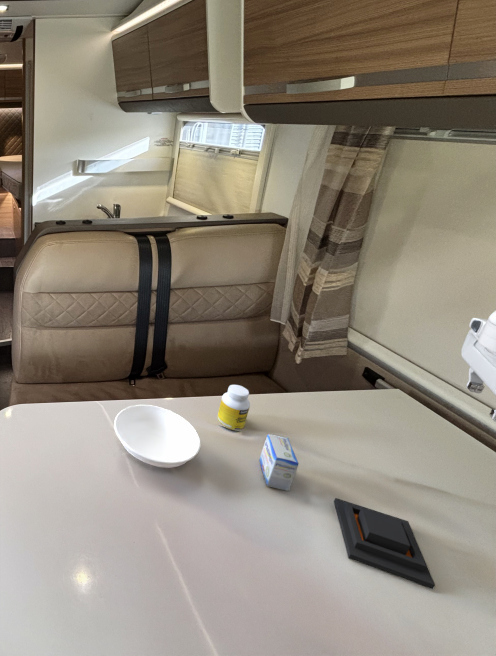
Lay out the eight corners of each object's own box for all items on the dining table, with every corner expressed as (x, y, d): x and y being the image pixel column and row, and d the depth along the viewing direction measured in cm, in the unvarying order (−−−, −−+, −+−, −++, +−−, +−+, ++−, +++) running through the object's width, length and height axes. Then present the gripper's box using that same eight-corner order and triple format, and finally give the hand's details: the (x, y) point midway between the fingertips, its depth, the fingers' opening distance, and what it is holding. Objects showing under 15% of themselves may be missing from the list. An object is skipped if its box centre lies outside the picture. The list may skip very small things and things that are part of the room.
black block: (394, 530, 85) (400, 520, 84) (404, 557, 80) (410, 546, 79) (356, 517, 87) (361, 507, 86) (364, 542, 83) (369, 532, 81)
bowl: (207, 488, 96) (212, 467, 94) (116, 478, 99) (119, 457, 97) (183, 427, 114) (187, 408, 112) (107, 419, 117) (109, 401, 115)
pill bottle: (229, 436, 111) (238, 400, 106) (210, 419, 117) (218, 384, 112) (249, 431, 112) (259, 395, 108) (230, 415, 118) (238, 380, 114)
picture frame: (406, 525, 87) (411, 515, 86) (432, 589, 76) (438, 579, 75) (333, 501, 93) (337, 492, 92) (348, 558, 81) (352, 548, 80)
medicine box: (258, 460, 103) (266, 432, 100) (279, 465, 102) (288, 437, 99) (266, 486, 96) (275, 457, 93) (289, 492, 95) (299, 462, 92)
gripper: (583, 378, 66) (541, 446, 71) (512, 321, 83) (482, 380, 88) (525, 367, 69) (488, 434, 74) (467, 314, 85) (440, 372, 91)
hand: (484, 404), depth 81 cm, fingers open, 8 cm apart
